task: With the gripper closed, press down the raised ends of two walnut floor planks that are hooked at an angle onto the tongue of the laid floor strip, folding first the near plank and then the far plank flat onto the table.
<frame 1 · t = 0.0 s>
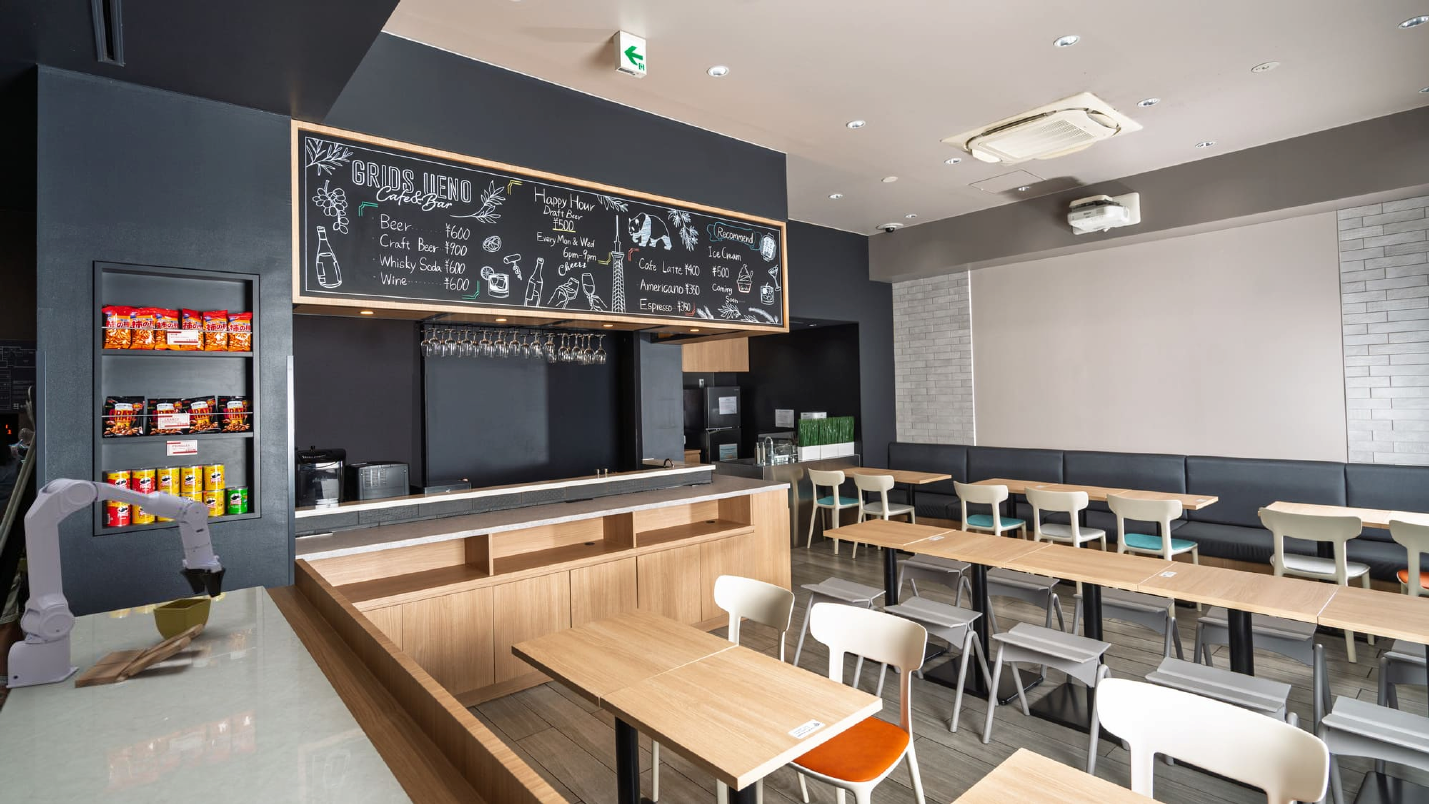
hand: (207, 594, 179), 11 cm above the countertop, tool pointing down, fingers open, 7 cm apart
flower pot: (183, 638, 177), on the countertop
plank near: (156, 656, 155), point 3 cm above the countertop, hinge at 25.0°
plank far: (172, 642, 164), point 3 cm above the countertop, hinge at 25.0°
laid floor: (132, 667, 157), on the countertop
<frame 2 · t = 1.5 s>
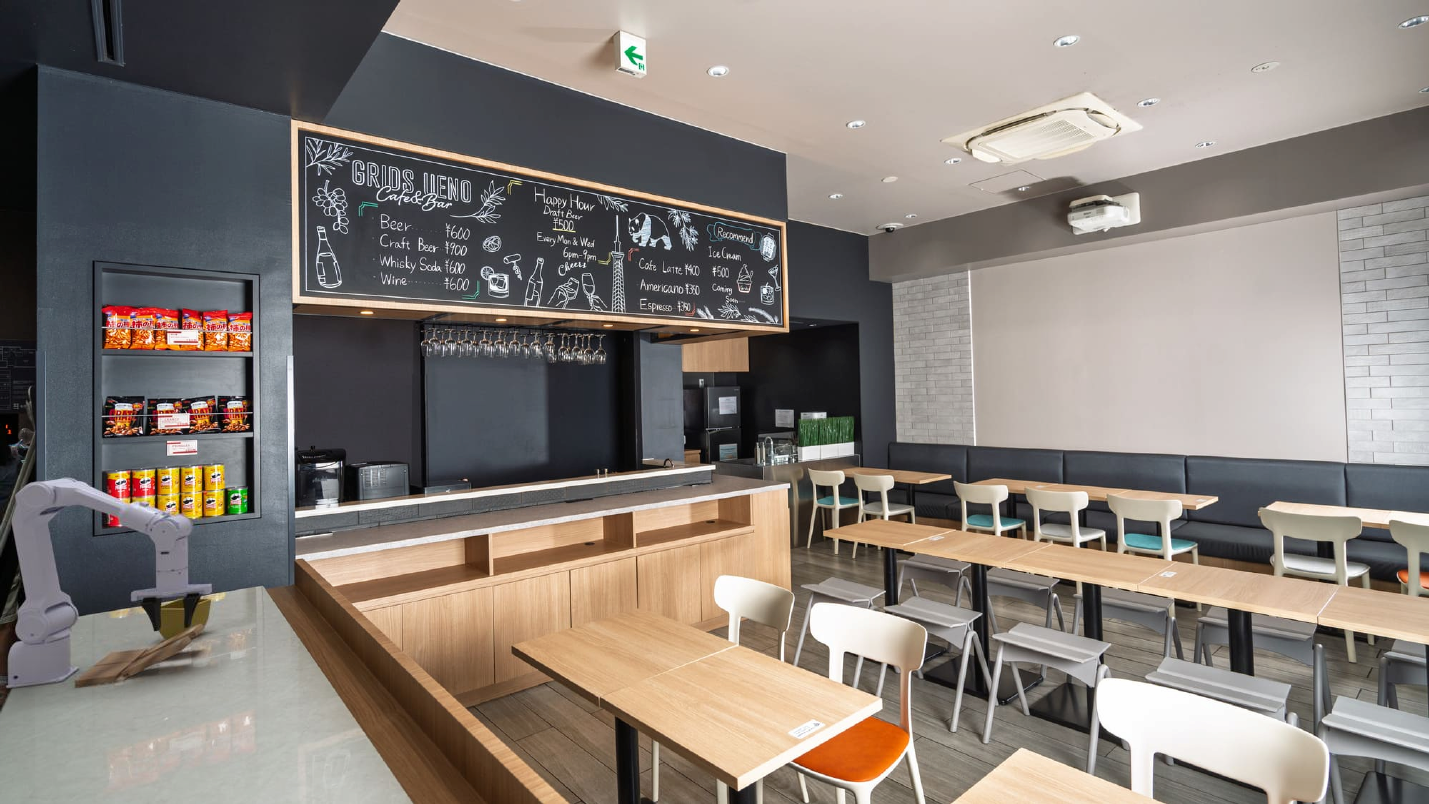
hand: (172, 628, 156), 9 cm above the countertop, tool pointing down, fingers open, 5 cm apart
nothing on the countertop moved.
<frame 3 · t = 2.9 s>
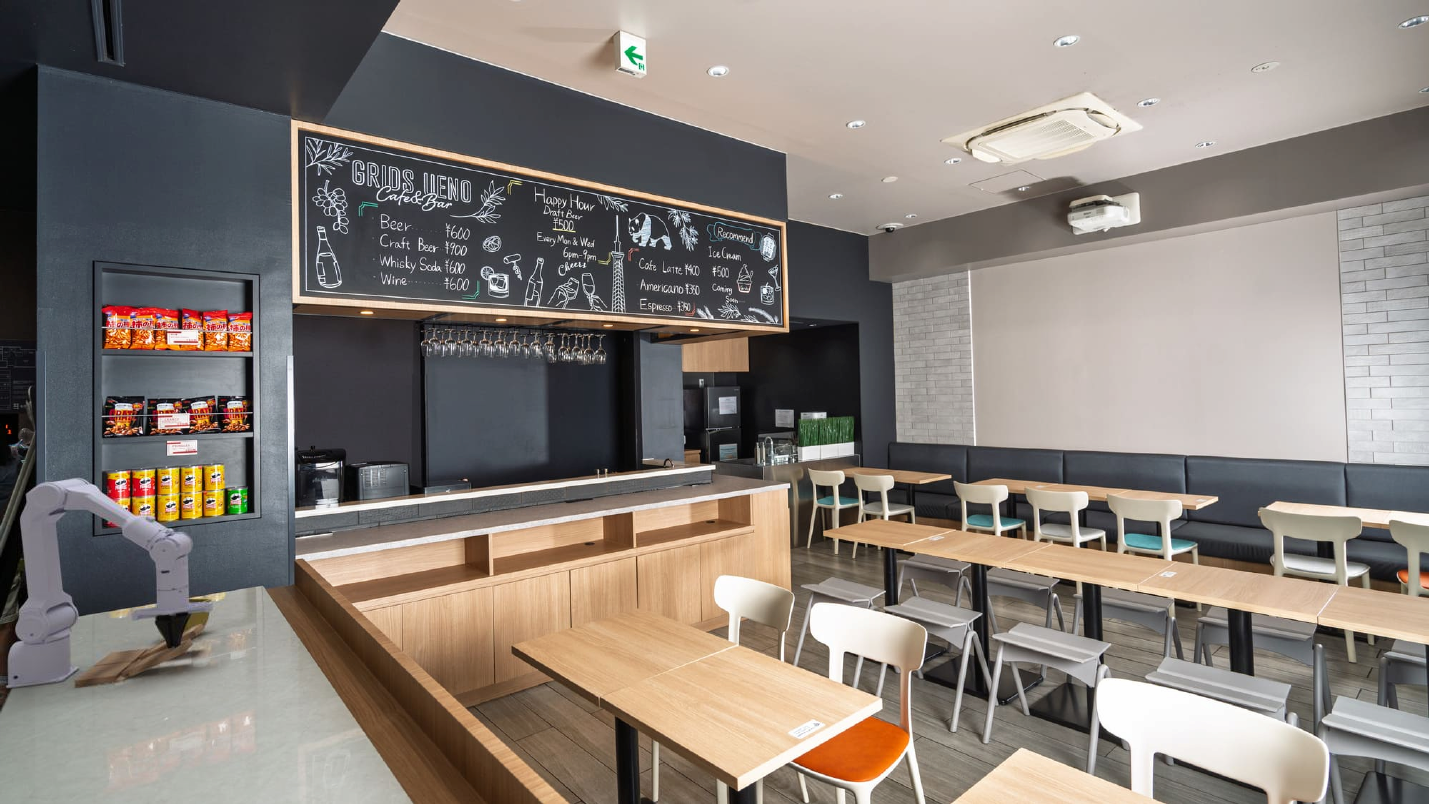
hand: (174, 646, 156), 5 cm above the countertop, tool pointing down, fingers closed
plank near: (158, 658, 155), point 3 cm above the countertop, hinge at 21.1°, touching gripper
everything else where it was.
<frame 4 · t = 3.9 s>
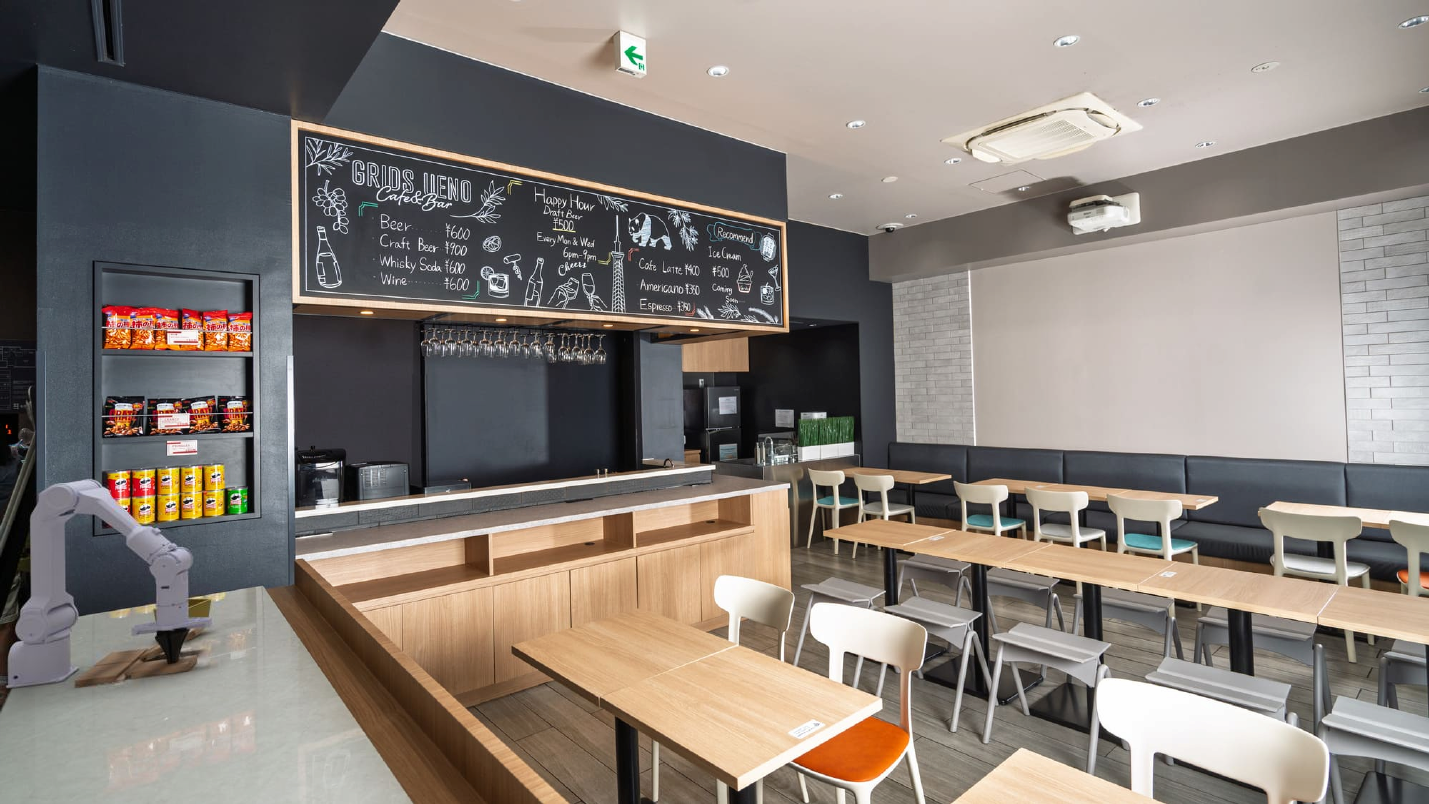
hand: (173, 662, 156), 2 cm above the countertop, tool pointing down, fingers closed, pressing on plank near
plank near: (161, 666, 155), point 1 cm above the countertop, hinge at 1.0°, touching gripper
everything else where it was.
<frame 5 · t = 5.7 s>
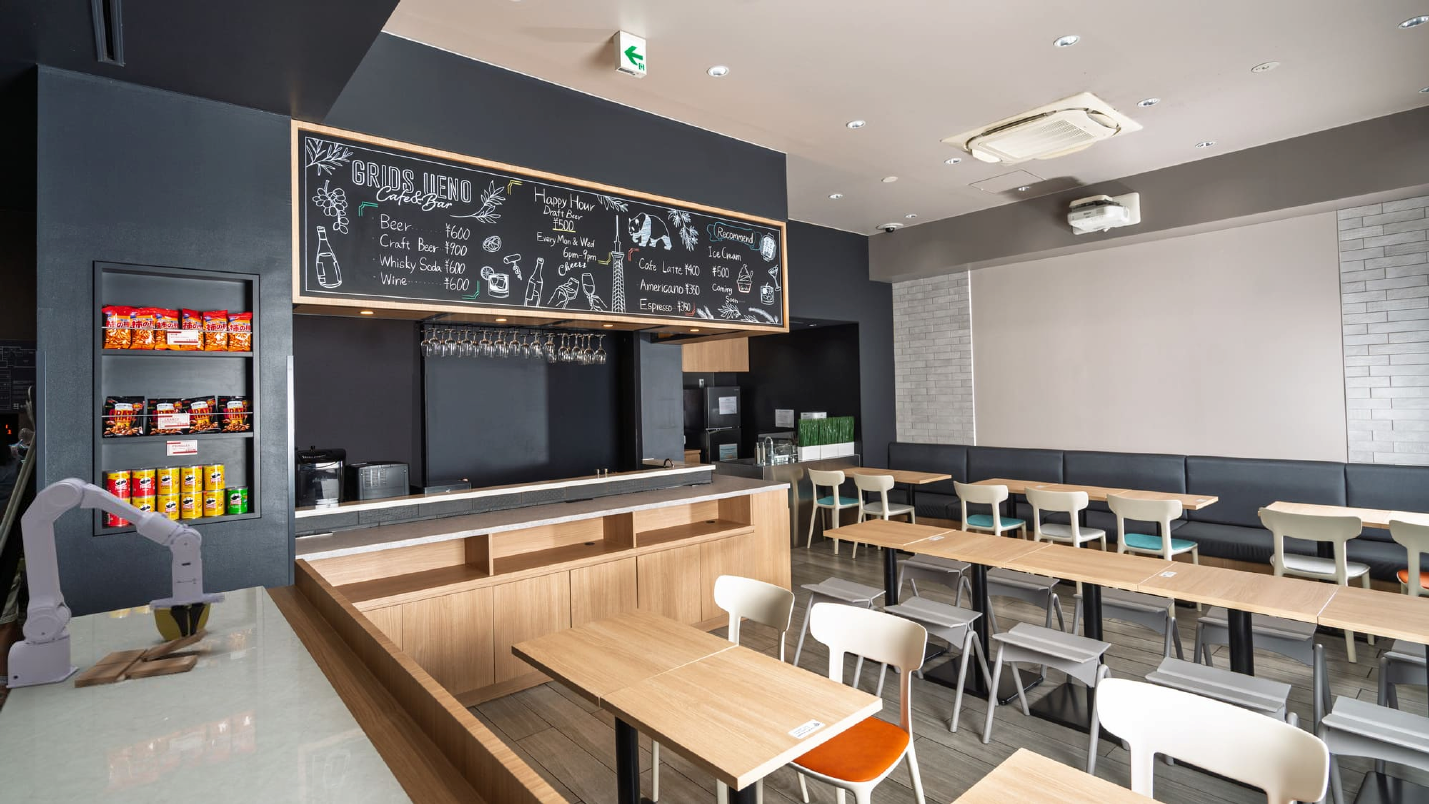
hand: (189, 635, 165), 5 cm above the countertop, tool pointing down, fingers closed
plank near: (161, 666, 155), point 1 cm above the countertop, hinge at 1.0°
plank far: (174, 645, 164), point 3 cm above the countertop, hinge at 17.8°, touching gripper
everything else where it was.
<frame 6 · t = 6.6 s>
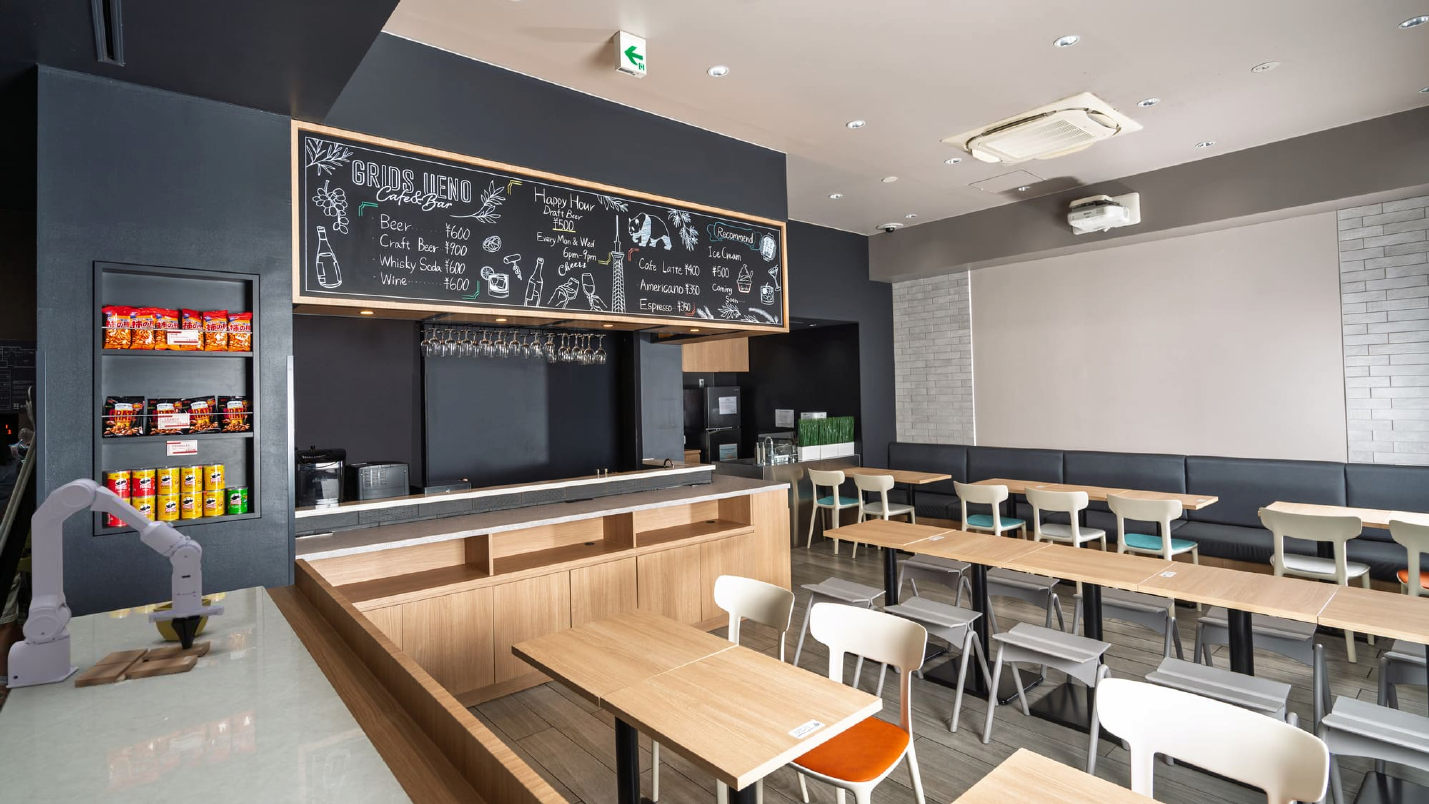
hand: (187, 647, 165), 2 cm above the countertop, tool pointing down, fingers closed
plank far: (177, 652, 164), point 1 cm above the countertop, hinge at 0.8°, touching gripper
everything else where it was.
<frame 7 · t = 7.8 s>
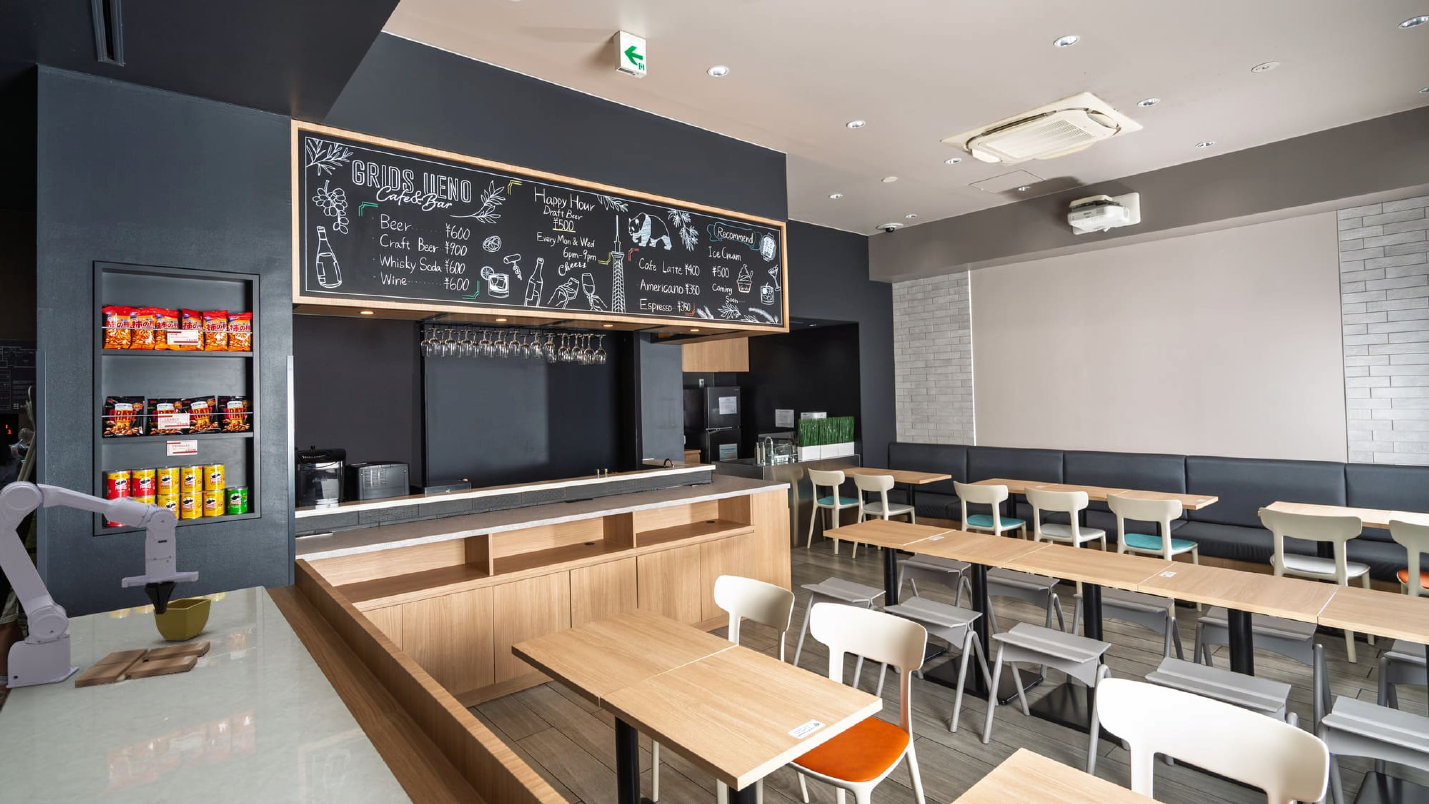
hand: (161, 613, 166), 10 cm above the countertop, tool pointing down, fingers closed
plank far: (177, 652, 164), point 1 cm above the countertop, hinge at 0.8°
everything else where it was.
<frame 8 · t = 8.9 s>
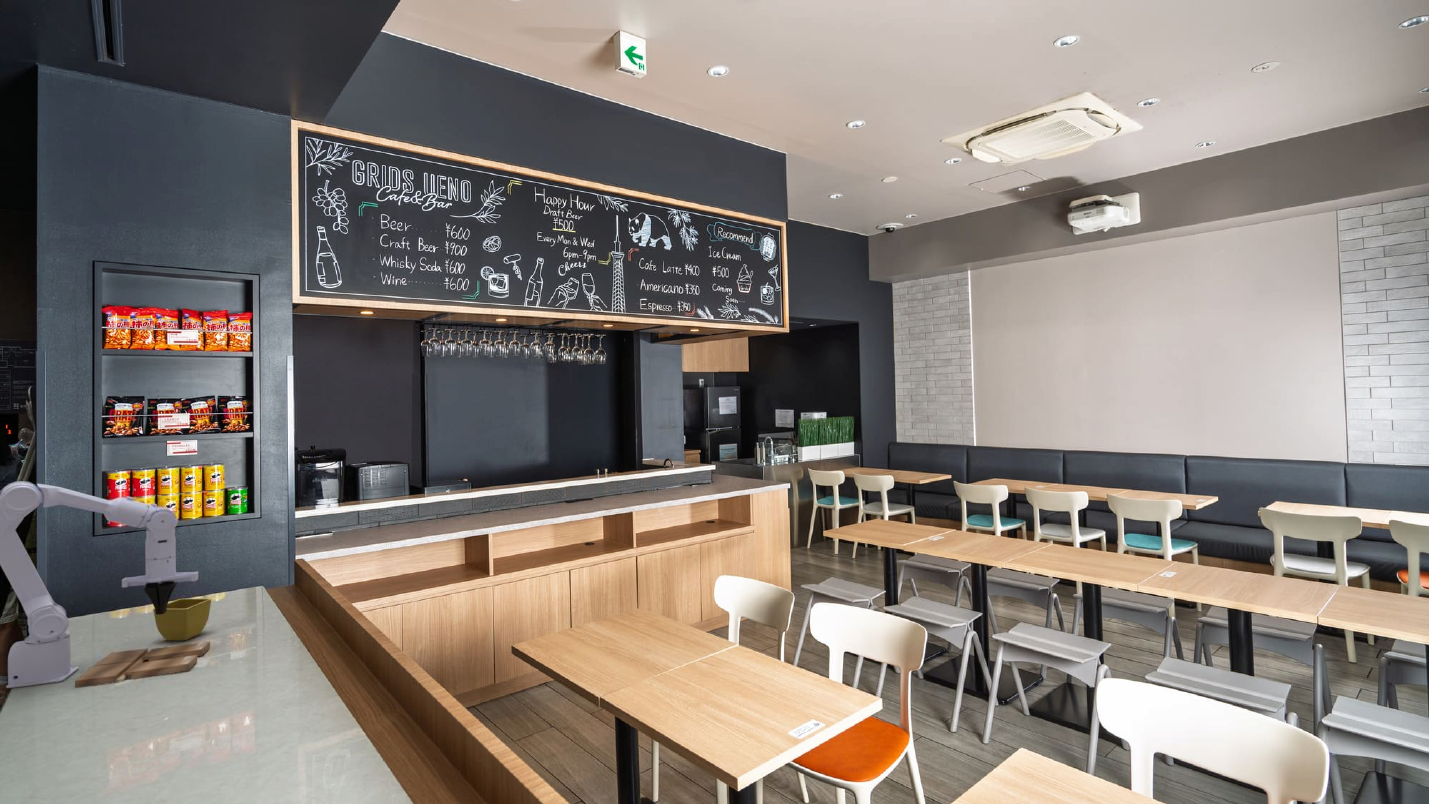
hand: (161, 613, 166), 10 cm above the countertop, tool pointing down, fingers closed
nothing on the countertop moved.
at the end: plank near at +1° (first picture: +25°); plank far at +1° (first picture: +25°) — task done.
